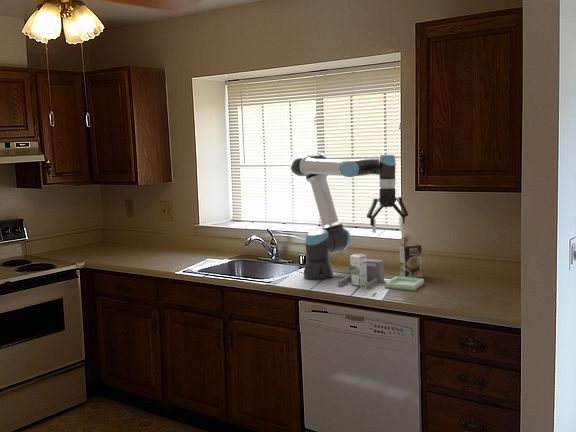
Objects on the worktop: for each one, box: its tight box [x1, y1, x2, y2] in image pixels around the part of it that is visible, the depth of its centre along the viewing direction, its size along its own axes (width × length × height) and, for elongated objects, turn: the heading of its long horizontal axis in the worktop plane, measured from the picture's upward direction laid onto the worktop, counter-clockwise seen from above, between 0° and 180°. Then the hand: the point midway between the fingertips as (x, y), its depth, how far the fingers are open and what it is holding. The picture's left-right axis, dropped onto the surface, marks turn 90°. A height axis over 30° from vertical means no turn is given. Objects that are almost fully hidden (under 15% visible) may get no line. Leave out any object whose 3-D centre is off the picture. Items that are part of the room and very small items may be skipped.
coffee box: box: [399, 243, 423, 278], centre depth 301 cm, size 9×6×16 cm
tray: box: [384, 276, 425, 292], centre depth 285 cm, size 14×14×2 cm
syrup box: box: [349, 253, 368, 287], centre depth 290 cm, size 6×6×14 cm
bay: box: [337, 258, 385, 290], centre depth 293 cm, size 16×19×10 cm
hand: (387, 231), depth 292 cm, fingers open, 13 cm apart
